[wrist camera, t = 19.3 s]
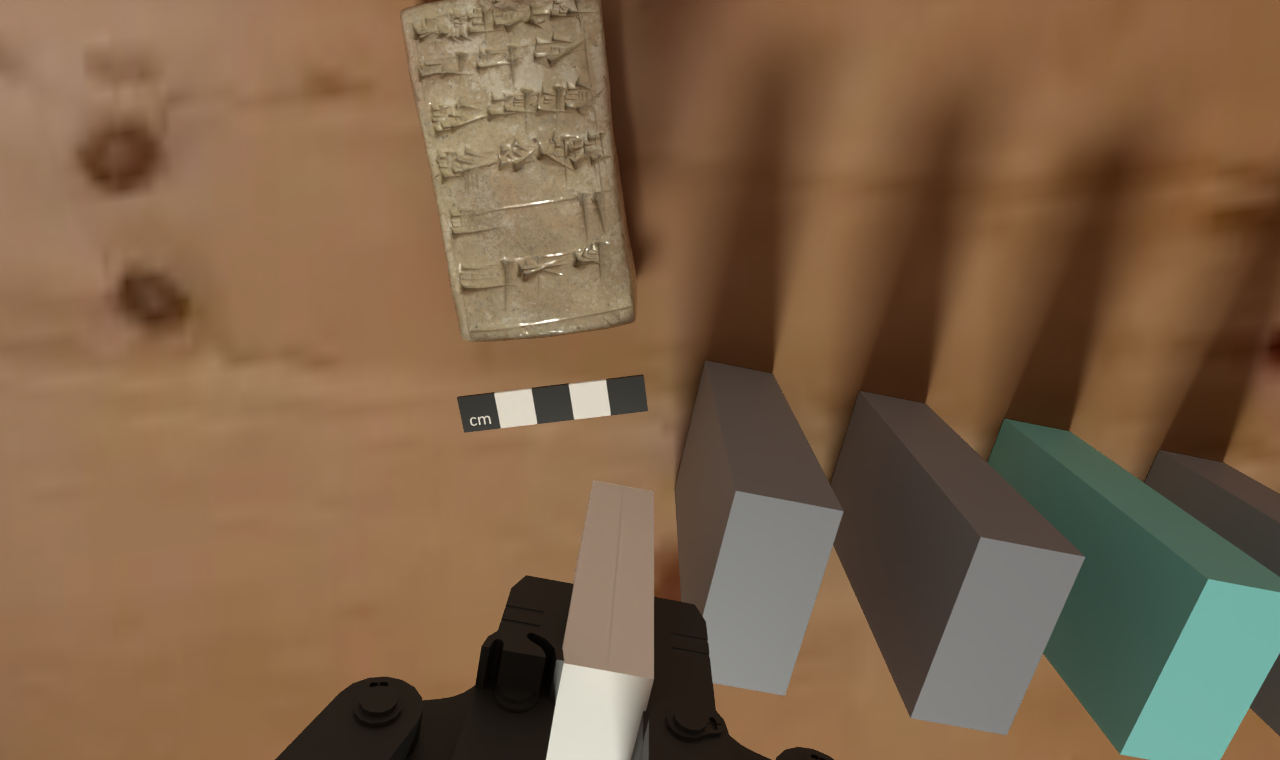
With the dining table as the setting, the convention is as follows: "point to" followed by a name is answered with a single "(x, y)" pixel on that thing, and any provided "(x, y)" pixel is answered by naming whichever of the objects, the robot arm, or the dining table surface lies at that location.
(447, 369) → the dining table surface
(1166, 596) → the domino
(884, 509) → the domino
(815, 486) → the domino
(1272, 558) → the domino
